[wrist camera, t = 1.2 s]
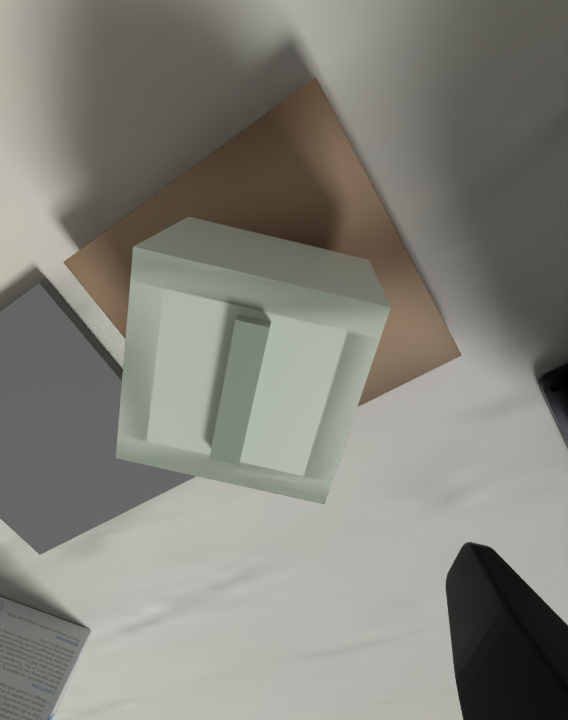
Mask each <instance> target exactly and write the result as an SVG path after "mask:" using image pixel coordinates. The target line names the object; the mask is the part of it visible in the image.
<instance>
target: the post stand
mask: <svg viewBox="0 0 568 720" xmlns="http://www.w3.org/2000/svg"><path fill="white" fill-rule="evenodd" d="M187 217H193V218H197V219H201V220H205V221H209V222H213V223H218V224H222V225H226V226H230V227H234V228H239V229H243V230H247V231H251V232H255V233H259V234H264V235H268V236H272V237H276V238H280V239H285V240H289V241H293V242H297V243H301V244H305V245H310V246H314V247H318V248H322V249H326V250H331V251H335V252H339V253H343V254H347V255H351V256H356V257H360V258H364V259H368V260H369V261H370V263H371V265H372V268H373V270H374V272H375V274H376V276H377V278H378V281H379V283H380V285H381V287H382V289H383V292H384V294H385V296H386V298H387V300H388V302H389V305H390V307H391V309H390V312H389V315H388V318H387V320H386V323H385V326H384V329H383V332H382V335H381V338H380V341H379V344H378V347H377V350H376V353H375V356H374V359H373V362H372V365H371V368H370V371H369V374H368V377H367V380H366V383H365V386H364V389H363V392H362V395H361V397H360V400H359V403H358V406H360V405H362V404H364V403H366V402H368V401H370V400H372V399H374V398H376V397H378V396H380V395H382V394H384V393H386V392H388V391H390V390H393V389H395V388H397V387H399V386H401V385H403V384H405V383H407V382H409V381H411V380H413V379H415V378H417V377H419V376H421V375H423V374H425V373H427V372H429V371H431V370H433V369H435V368H437V367H439V366H441V365H443V364H445V363H447V362H449V361H451V360H453V359H455V358H457V357H459V356H461V353H460V351H459V349H458V347H457V345H456V343H455V341H454V340H453V338H452V336H451V334H450V332H449V330H448V328H447V326H446V324H445V322H444V321H443V319H442V317H441V315H440V313H439V311H438V309H437V307H436V305H435V303H434V302H433V300H432V298H431V296H430V294H429V292H428V290H427V288H426V286H425V284H424V282H423V281H422V279H421V277H420V275H419V273H418V271H417V269H416V267H415V265H414V263H413V262H412V260H411V258H410V256H409V254H408V252H407V250H406V248H405V246H404V244H403V243H402V241H401V239H400V237H399V235H398V233H397V231H396V229H395V227H394V225H393V224H392V222H391V220H390V218H389V216H388V214H387V212H386V210H385V208H384V206H383V204H382V203H381V201H380V199H379V197H378V195H377V193H376V191H375V189H374V187H373V185H372V184H371V182H370V180H369V178H368V176H367V174H366V172H365V170H364V168H363V166H362V165H361V163H360V161H359V159H358V157H357V155H356V153H355V151H354V149H353V147H352V146H351V144H350V142H349V140H348V138H347V136H346V134H345V132H344V130H343V128H342V126H341V125H340V123H339V121H338V119H337V117H336V115H335V113H334V111H333V109H332V107H331V106H330V104H329V102H328V100H327V98H326V96H325V94H324V92H323V90H322V88H321V87H320V85H319V83H318V81H317V79H316V78H314V79H313V80H312V81H310V82H309V83H307V84H306V85H305V86H303V87H302V88H301V89H299V90H298V91H296V92H295V93H294V94H292V95H291V96H290V97H288V98H287V99H286V100H284V101H283V102H281V103H280V104H279V105H277V106H276V107H275V108H273V109H272V110H271V111H269V112H268V113H266V114H265V115H264V116H262V117H261V118H260V119H258V120H257V121H255V122H254V123H253V124H251V125H250V126H249V127H247V128H246V129H245V130H243V131H242V132H240V133H239V134H238V135H236V136H235V137H234V138H232V139H231V140H230V141H228V142H227V143H225V144H224V145H223V146H221V147H220V148H219V149H217V150H216V151H215V152H213V153H212V154H210V155H209V156H208V157H206V158H205V159H204V160H202V161H201V162H199V163H198V164H197V165H195V166H194V167H193V168H191V169H190V170H189V171H187V172H186V173H184V174H183V175H182V176H180V177H179V178H178V179H176V180H175V181H174V182H172V183H171V184H169V185H168V186H167V187H165V188H164V189H163V190H161V191H160V192H159V193H157V194H156V195H154V196H153V197H152V198H150V199H149V200H148V201H146V202H145V203H143V204H142V205H141V206H139V207H138V208H137V209H135V210H134V211H133V212H131V213H130V214H128V215H127V216H126V217H124V218H123V219H122V220H120V221H119V222H118V223H116V224H115V225H113V226H112V227H111V228H109V229H108V230H107V231H105V232H104V233H102V234H101V235H100V236H98V237H97V238H96V239H94V240H93V241H92V242H90V243H89V244H87V245H86V246H85V247H83V248H82V249H81V250H79V251H78V252H77V253H75V254H74V255H72V256H71V257H70V258H68V259H67V260H66V261H64V264H65V265H66V266H67V267H68V269H69V270H70V271H71V272H72V274H73V275H74V276H75V277H76V278H77V280H78V281H79V282H80V283H81V285H82V286H83V287H84V288H85V290H86V291H87V292H88V293H89V295H90V296H91V297H92V298H93V299H94V301H95V302H96V303H97V304H98V306H99V307H100V308H101V309H102V311H103V312H104V313H105V314H106V316H107V317H108V318H109V319H110V321H111V322H112V323H113V324H114V325H115V327H116V328H117V329H118V330H119V332H120V333H121V334H122V335H123V337H124V338H125V339H126V327H127V315H128V303H129V291H130V279H131V267H132V255H133V247H134V246H135V245H137V244H139V243H141V242H143V241H145V240H147V239H148V238H150V237H152V236H154V235H156V234H158V233H159V232H161V231H163V230H165V229H167V228H169V227H171V226H172V225H174V224H176V223H178V222H180V221H182V220H183V219H185V218H187ZM358 406H357V407H358Z"/></svg>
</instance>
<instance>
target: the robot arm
mask: <svg viewBox="0 0 568 720" xmlns="http://www.w3.org/2000/svg"><path fill="white" fill-rule="evenodd" d="M555 381H558V383H557V385H556V386H554V387H551V388H550V387H549V386H550V385H551V383H553V382H555ZM539 386H540V389H541V391H542V393H543V395H544V398H545V400H546V402H547V404H548V406H549V408H550V410H551V412H552V415H553V417H554V419H555V421H556V423H557V425H558V427H559V429H560V432H561V434H562V436H563V438H564V440H565V442H566V444H567V446H568V364H566V365H564V366H561V367H559V368H557V369H555V370H553V371H550V372H548V373H546V374H545V375H543V377H542V378H541V379H540V382H539ZM446 595H447V605H448V614H449V624H450V634H451V643H452V653H453V663H454V671H455V678H456V684H457V690H458V696H459V701H460V706H461V710H462V715H463V720H568V625H567V624H566V623H565V622H564V621H563V620H562V619H561V618H560V617H559V616H558V615H557V614H556V613H555V612H554V611H553V610H552V609H551V608H550V607H549V606H548V605H547V604H546V603H545V602H544V601H543V600H542V599H541V598H540V597H539V596H538V595H537V594H536V593H535V592H534V591H533V589H532V588H531V587H530V586H529V585H528V584H527V583H526V582H525V581H524V580H523V579H522V578H521V577H520V576H519V575H518V574H517V573H516V572H515V571H514V570H513V569H512V568H511V567H510V566H509V565H508V564H507V563H506V562H505V561H504V560H503V559H502V558H501V557H500V556H499V555H498V554H497V553H496V552H495V551H494V550H493V549H492V548H491V547H489V546H486V545H481V544H477V543H472V542H467V543H465V544H464V545H463V546H462V548H461V550H460V551H459V553H458V555H457V557H456V559H455V561H454V563H453V564H452V566H451V568H450V570H449V572H448V574H447V578H446Z"/></svg>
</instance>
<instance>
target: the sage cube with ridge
mask: <svg viewBox="0 0 568 720" xmlns="http://www.w3.org/2000/svg"><path fill="white" fill-rule="evenodd" d="M390 309H391V307H390V305H389V302H388V300H387V298H386V296H385V294H384V292H383V289H382V287H381V285H380V283H379V281H378V278H377V276H376V274H375V272H374V270H373V268H372V265H371V263H370V261H369V260H368V259H364V258H360V257H356V256H351V255H347V254H343V253H339V252H335V251H331V250H326V249H322V248H318V247H314V246H310V245H305V244H301V243H297V242H293V241H289V240H285V239H280V238H276V237H272V236H268V235H264V234H259V233H255V232H251V231H247V230H243V229H239V228H234V227H230V226H226V225H222V224H218V223H213V222H209V221H205V220H201V219H197V218H193V217H187V218H185V219H183V220H182V221H180V222H178V223H176V224H174V225H172V226H171V227H169V228H167V229H165V230H163V231H161V232H159V233H158V234H156V235H154V236H152V237H150V238H148V239H147V240H145V241H143V242H141V243H139V244H137V245H135V246H134V247H133V255H132V267H131V279H130V291H129V303H128V315H127V327H126V339H125V351H124V363H123V375H122V387H121V399H120V412H119V424H118V436H117V448H116V458H117V459H121V460H126V461H130V462H135V463H139V464H144V465H149V466H153V467H158V468H162V469H167V470H171V471H176V472H180V473H185V474H189V475H194V476H198V477H203V478H208V479H212V480H217V481H221V482H226V483H230V484H235V485H239V486H244V487H248V488H253V489H257V490H262V491H267V492H271V493H276V494H280V495H285V496H289V497H294V498H298V499H303V500H307V501H312V502H316V503H321V504H325V501H326V498H327V495H328V492H329V489H330V486H331V483H332V480H333V477H334V474H335V472H336V469H337V466H338V463H339V460H340V457H341V454H342V451H343V448H344V445H345V442H346V439H347V436H348V433H349V430H350V427H351V424H352V421H353V418H354V415H355V412H356V409H357V406H358V403H359V400H360V397H361V395H362V392H363V389H364V386H365V383H366V380H367V377H368V374H369V371H370V368H371V365H372V362H373V359H374V356H375V353H376V350H377V347H378V344H379V341H380V338H381V335H382V332H383V329H384V326H385V323H386V320H387V318H388V315H389V312H390Z"/></svg>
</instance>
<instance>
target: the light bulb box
mask: <svg viewBox="0 0 568 720" xmlns="http://www.w3.org/2000/svg"><path fill="white" fill-rule="evenodd" d="M90 634H91V631H90V630H89V629H87V628H84V627H82V626H79V625H76V624H73V623H71V622H68V621H65V620H63V619H60V618H57V617H55V616H52V615H49V614H46V613H44V612H41V611H38V610H36V609H33V608H30V607H27V606H25V605H22V604H19V603H17V602H14V601H11V600H9V599H6V598H3V597H0V720H53V718H54V715H55V713H56V711H57V708H58V706H59V704H60V702H61V699H62V697H63V695H64V693H65V691H66V688H67V686H68V684H69V682H70V679H71V677H72V675H73V673H74V671H75V668H76V666H77V664H78V662H79V659H80V657H81V655H82V653H83V651H84V648H85V646H86V644H87V642H88V640H89V637H90Z"/></svg>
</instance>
